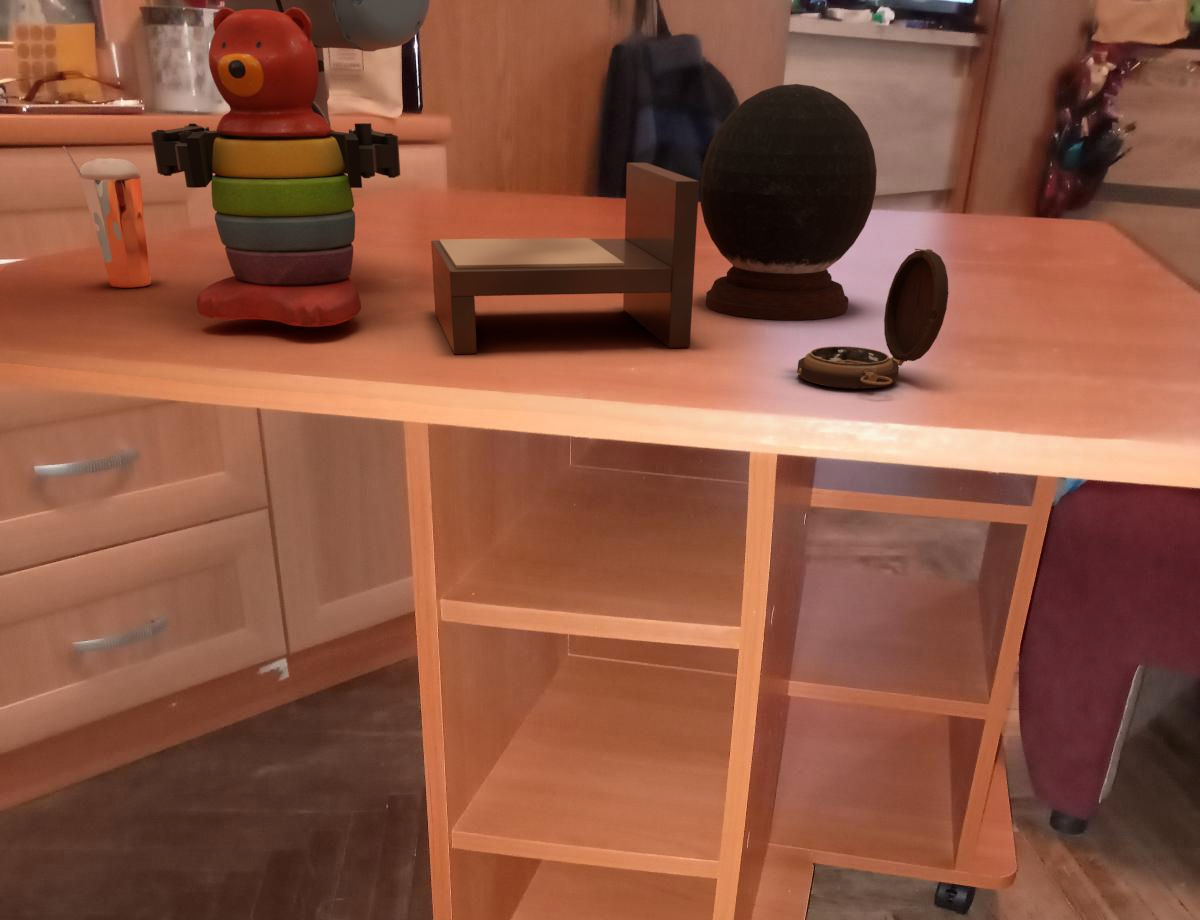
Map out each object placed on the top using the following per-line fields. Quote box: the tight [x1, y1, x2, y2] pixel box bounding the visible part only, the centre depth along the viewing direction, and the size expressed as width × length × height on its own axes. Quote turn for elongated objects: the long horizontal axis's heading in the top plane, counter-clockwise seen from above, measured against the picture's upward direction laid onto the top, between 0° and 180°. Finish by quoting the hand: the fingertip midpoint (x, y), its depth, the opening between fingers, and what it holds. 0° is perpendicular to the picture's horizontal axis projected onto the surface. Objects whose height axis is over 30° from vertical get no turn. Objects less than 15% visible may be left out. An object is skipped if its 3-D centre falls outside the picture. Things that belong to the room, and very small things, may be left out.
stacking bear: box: [196, 7, 362, 328], centre depth 77 cm, size 11×10×18 cm
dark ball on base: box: [699, 83, 878, 321], centre depth 87 cm, size 13×13×15 cm
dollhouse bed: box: [430, 162, 700, 355], centre depth 79 cm, size 16×14×10 cm
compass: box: [796, 248, 949, 390], centre depth 68 cm, size 8×8×7 cm
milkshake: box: [62, 145, 152, 289], centre depth 92 cm, size 4×5×10 cm
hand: (276, 163), depth 73 cm, fingers closed on stacking bear, 9 cm apart
